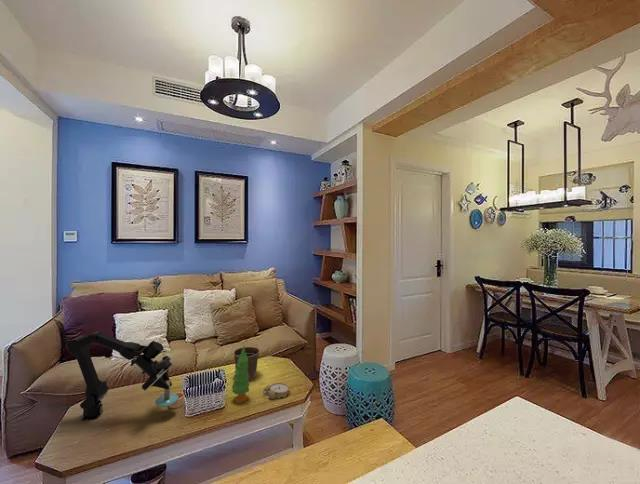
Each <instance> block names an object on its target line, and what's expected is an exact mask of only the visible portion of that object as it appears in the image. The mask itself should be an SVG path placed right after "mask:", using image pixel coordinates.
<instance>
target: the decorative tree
mask: <svg viewBox="0 0 640 484" xmlns="http://www.w3.org/2000/svg"><path fill="white" fill-rule="evenodd" d="M242 347H243V349H242V352H241V355H240V357H239V359H238V363H237V365H236V366H237V368H236V367H235V370H234V373H235V374H234V376H233V378H232V381H233V384H232V385H231V389H232V390H231V392H232V393H234V395H237V397H236V398H235V399H234V401H235V402H236V403H238V404H239V402H240V403H244V402H245V401H247V393H248V392H249V391H250V380H248V369H247V368H248V362H247V361H248V358H247V355H246V352H245V348H244V347H245V346H242ZM243 401H244V402H243Z"/></svg>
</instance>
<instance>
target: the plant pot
mask: <svg viewBox="0 0 640 484" xmlns="http://www.w3.org/2000/svg"><path fill="white" fill-rule="evenodd" d="M243 347H244V348H245V352H246V355H247V358H248V361H247V362H248V368H247V369H248V381H252V380H255V379H256V377H257V369H258V361H259V356H260V353H261V351H260V350H261V349H259V348H258V347H255V346H242V347H240V348H236V349H234V351H233V353H232V354H233V357H234V358H233V359H234V363H235V364H234V365H235V369H236V368H237V366H236V365H237V363H238V359H239V357H240V355H241V352H242V349H243Z"/></svg>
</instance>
